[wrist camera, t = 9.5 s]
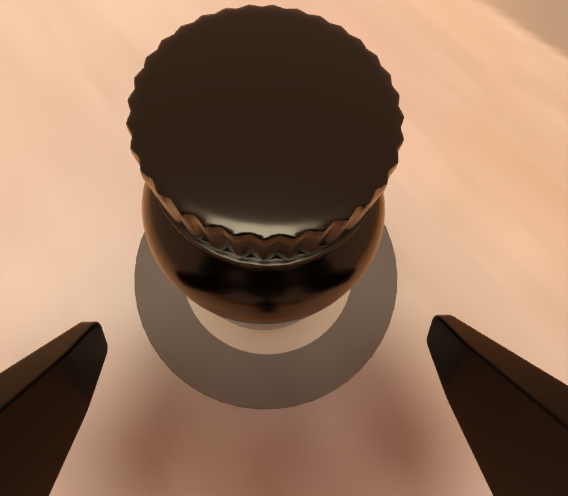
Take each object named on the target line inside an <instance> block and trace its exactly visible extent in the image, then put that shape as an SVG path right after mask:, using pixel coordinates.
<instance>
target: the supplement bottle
mask: <svg viewBox="0 0 568 496" xmlns="http://www.w3.org/2000/svg"><path fill="white" fill-rule="evenodd" d="M134 85H135V89H134V91H133V92H132V94H131V95H130V97H129V98H128V104H129V108H130V111H131V112H130V115H129V117H128V119H127V122H126V125H127V128H128V131H129V133H130V134H131V136H132V140H131V147H130V149H131V152H132V154H133V156H134V157H135V159H136V160H137V162H138V163H139V165H140V170H141V174H142V177H143V179H144V180H145V184H144V188H143V197H142V218H143V226H144V230H145V234H146V238H147V241H148V244H149V247H150V249H151V252H152V254H153V256H154V258H155V260H156V262H157V263H158V265H159V266H160V268H161V269H162V271H163V272H164V274H165V275H166V276H167V277H168V279H169V280H170V281H171V282H172V283H173V284H174V285H175V286H176V287H177V288H178V289H179V290H180V291H181V292H182V293H183V294H184V295H186V296H187V297H188V298H189V299H191V300H192V301H193V302H195V303H196V304H198V305H199V306H201V307H203V308H204V309H206V310H208V311H210V312H212V313H214V314H216V315H217V316H219V317H221V318H223V319H225V320H227V321H229V322H231V323H233V324H235V325H237V326H240V327H243V328H247V329H252V330H275V329H280V328H284V327H287V326H290V325H292V324H294V323H296V322H299V321H301V320H303V319H305V318H307V317H309V316H311V315H313V314H315V313H317V312H319V311H321V310H323V309H324V308H326V307H328V306H330V305H331V304H333V303H334V302H335V301H337V300H338V299H339V298H341V297H342V296H343V295H344V294H345V293H347V292H348V291H349V290H350V289H351V288H352V287H353V286H354V285H355V284H356V283H357V282H358V280H359V279H360V278H361V277H362V276H363V274H364V273H365V271H366V270H367V269H368V267H369V265H370V263H371V262H372V260H373V258H374V256H375V254H376V251H377V249H378V246H379V243H380V240H381V237H382V232H383V227H384V219H385V199H384V192H383V191H384V190H385V188H386V185H387V182H388V178H389V177H390V175H391V174H392V173H393V171H394V170H395V169H396V167H397V164H398V150H399V149H400V147H401V145H402V143H403V141H404V138H403V134H402V132H401V125H402V123H403V119H404V116H403V113H402V111H401V110H400V108H399V106H398V105H399V94H398V92H397V91H396V90H395V89H394V87H393V86H392V82H391V76H390V74H389V73H388V72H387V71H386V70H385V69H384V68H383V67H382V66H381V64H380V61H379V59H378V57H377V55H375V54H374V53H372V52H371V51H369V50H368V49H366V47H365V45H364V44H363V42H362V41H361V40H360V39H358V38H356V37H354V36H351V35H349V34H348V33H347V31H346V30H345V29H344V28H343V27H342V26H339V25H335V24H331V23H329V22H328V21H326V20H325V19H324V18H322V17H321V16H317V15H309V14H306V13H304V12H303V11H301V10H299V9H284V8H281V7H278V6H275V5H268V6H263V7H260V6H255V5H246V6H243V7H241V8H238V9H232V8H225V9H223V10H221V11H219V12H217V13H216V14H209V15H202V16H201V17H199V18H198V19H197V20H196V21H195V22H193V23H190V24H186V25H183V26H180V28H179V29H178V30H177V31H176V32H175V34H174V35H172V36H170V37H167V38H165V39H163V40H162V41H161V43H160V44H159V46H158V49H157V50H156V51H155V52H153V53H152V54H150V55H149V56H147V57H146V60H145V64H144V68H143V69H142V70H141V71H140V72H139V73H138V74H137V75H136V76H135V78H134Z"/></svg>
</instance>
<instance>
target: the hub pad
mask: <svg viewBox="0 0 568 496" xmlns="http://www.w3.org/2000/svg"><path fill="white" fill-rule="evenodd" d="M396 293H397V268H396V259H395V254H394V250H393V246H392V242H391V239H390V237H389V234H388V231H387V229H386V227H385V225H384V227H383V232H382V237H381V240H380V243H379V246H378V249H377V251H376V254H375V256H374V258H373V260H372V262H371V263H370V265H369V267H368V269H367V270H366V271H365V273H364V274H363V276H362V277H361V278H360V279H359V280H358V282H357V283H356V284H355V285H354V286H353V287H352V288H351V289H350V290H349V291H348V292H347V293H345V294H344V295H343V296H342V297H341V298H339V299H338V300H337V301H335V302H334V303H333V304H331V305H330V306H328V307H326V308H324V309H323V310H321V311H319V312H317V313H315V314H313V315H311V316H309V317H307V318H305V319H303V320H301V321H299V322H296V323H294V324H292V325H290V326H287V327H284V328H280V329H275V330H252V329H247V328H243V327H240V326H237V325H235V324H233V323H231V322H229V321H227V320H225V319H223V318H221V317H219V316H217V315H216V314H214V313H212V312H210V311H208V310H206V309H204V308H203V307H201V306H199V305H198V304H196V303H195V302H193V301H192V300H191V299H189V298H188V297H187V296H186V295H184V294H183V293H182V292H181V291H180V290H179V289H178V288H177V287H176V286H175V285H174V284H173V283H172V282H171V281H170V280H169V279H168V277H167V276H166V275H165V274H164V272H163V271H162V269H161V268H160V266H159V265H158V263H157V262H156V260H155V258H154V256H153V254H152V252H151V249H150V247H149V244H148V241H147V238H146V234H145V232H144V234H143V237H142V239H141V242H140V246H139V250H138V254H137V258H136V266H135V296H136V302H137V309H138V312H139V315H140V319H141V322H142V325H143V328H144V330H145V332H146V334H147V336H148V338H149V341H150V343H151V344H152V346H153V347H154V349H155V350H156V352H157V353H158V355H159V356H160V358H161V359H162V360H163V361H164V362H165V364H166V365H167V366H168V367H169V368H170V369H171V370H172V371H173V372H174V373H175V374H176V375H177V376H178V377H179V378H181V379H182V380H183V381H184V382H185V383H187V384H188V385H190V386H191V387H193V388H194V389H196V390H198V391H199V392H201V393H202V394H204V395H207V396H209V397H211V398H213V399H216V400H218V401H220V402H224V403H227V404H231V405H234V406H238V407H245V408H253V409H280V408H286V407H292V406H297V405H300V404H303V403H307V402H310V401H313V400H316V399H318V398H320V397H322V396H324V395H326V394H328V393H330V392H332V391H334V390H335V389H337V388H338V387H340V386H341V385H343V384H344V383H346V382H347V381H348V380H349V379H350V378H352V377H353V376H354V375H355V374H356V373H357V372H358V371H359V370H360V369H361V368H362V367H363V366H364V365H365V364H366V362H367V361H368V360H369V359H370V358H371V357H372V355H373V354H374V352H375V351H376V349H377V347H378V346H379V344H380V343H381V341H382V339H383V337H384V335H385V333H386V330H387V328H388V326H389V323H390V320H391V317H392V313H393V310H394V305H395V299H396Z"/></svg>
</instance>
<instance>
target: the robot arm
mask: <svg viewBox="0 0 568 496" xmlns="http://www.w3.org/2000/svg"><path fill="white" fill-rule="evenodd" d="M427 344H428V348H429V351H430V353H431V356H432V359H433V362H434V364H435V367H436V370H437V373H438V376H439V378H440V381H441V384H442V387H443V390H444V392H445V395H446V397H447V399H448V402H449V404H450V406H451V408H452V410H453V412H454V415H455V417H456V419H457V421H458V423H459V425H460V427H461V429H462V431H463V433H464V435H465V438H466V440H467V442H468V444H469V446H470V448H471V450H472V452H473V454H474V456H475V459H476V461H477V463H478V465H479V467H480V469H481V471H482V473H483V475H484V477H485V479H486V482H487V484H488V486H489V488H490V490H491V492H492V494H493V496H568V385H566V384H564V383H563V382H561V381H559V380H558V379H556V378H554V377H553V376H551V375H549V374H548V373H546V372H544V371H543V370H541V369H539V368H538V367H536V366H534V365H533V364H531V363H530V362H528V361H526V360H525V359H523V358H521V357H520V356H518V355H516V354H515V353H513V352H511V351H510V350H508V349H506V348H505V347H503V346H501V345H500V344H498V343H496V342H495V341H493V340H491V339H490V338H488V337H486V336H485V335H483V334H482V333H480V332H478V331H477V330H475V329H473V328H472V327H470V326H468V325H467V324H465V323H463V322H462V321H460V320H458V319H457V318H455V317H453V316H452V315H436V316H435V317H434V318H433V320H432V323H431V326H430V329H429V333H428V336H427ZM107 349H108V347H107V342H106V339H105V336H104V333H103V330H102V327H101V325H100V323H98V322H81V323H79V324H77V325H76V326H74V327H72V328H71V329H69V330H68V331H66V332H65V333H63V334H61V335H60V336H58V337H57V338H55V339H54V340H52V341H50V342H49V343H47V344H46V345H44V346H42V347H41V348H39V349H38V350H36V351H35V352H33V353H31V354H30V355H28V356H27V357H25V358H23V359H22V360H20V361H19V362H17V363H16V364H14V365H12V366H11V367H9V368H8V369H6V370H4V371H3V372H1V373H0V496H49V494H50V492H51V490H52V488H53V485H54V483H55V481H56V479H57V477H58V474H59V472H60V470H61V468H62V466H63V463H64V461H65V459H66V457H67V455H68V452H69V450H70V448H71V446H72V444H73V441H74V439H75V437H76V435H77V433H78V430H79V428H80V426H81V424H82V422H83V419H84V417H85V415H86V412H87V410H88V407H89V405H90V402H91V399H92V396H93V393H94V390H95V387H96V384H97V381H98V378H99V375H100V372H101V369H102V366H103V363H104V360H105V357H106V354H107Z"/></svg>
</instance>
